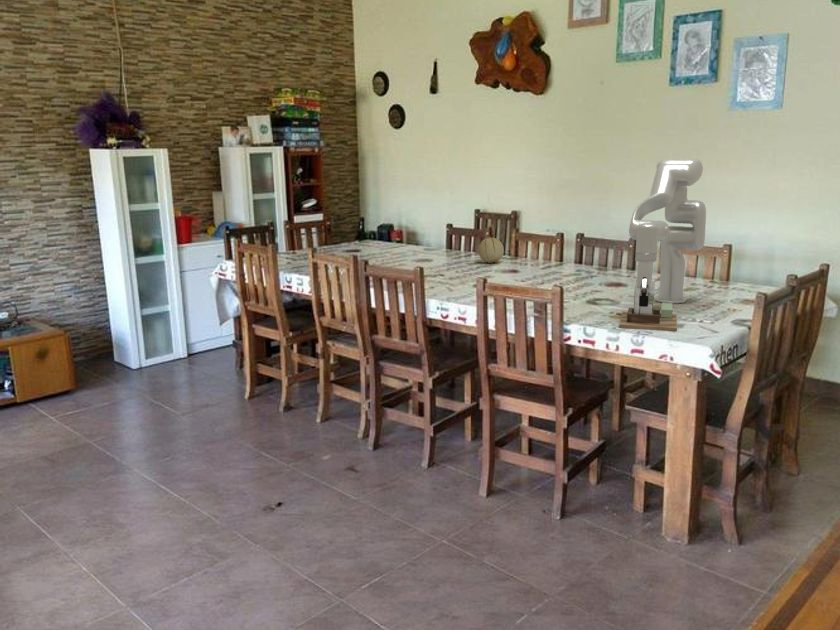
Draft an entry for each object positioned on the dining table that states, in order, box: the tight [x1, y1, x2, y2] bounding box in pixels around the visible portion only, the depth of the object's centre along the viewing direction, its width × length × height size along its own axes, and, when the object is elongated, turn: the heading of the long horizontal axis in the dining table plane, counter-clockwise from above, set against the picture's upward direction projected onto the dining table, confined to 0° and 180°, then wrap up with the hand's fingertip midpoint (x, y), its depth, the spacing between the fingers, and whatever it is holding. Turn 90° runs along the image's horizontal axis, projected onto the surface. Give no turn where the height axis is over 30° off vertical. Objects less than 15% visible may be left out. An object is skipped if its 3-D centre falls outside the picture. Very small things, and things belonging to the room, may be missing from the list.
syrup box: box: [633, 277, 656, 315], centre depth 272 cm, size 6×6×14 cm
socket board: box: [618, 307, 678, 332], centre depth 274 cm, size 22×20×4 cm
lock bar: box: [660, 302, 674, 318], centre depth 280 cm, size 13×4×3 cm, turn 162°
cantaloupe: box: [477, 236, 505, 264], centre depth 414 cm, size 15×15×15 cm
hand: (643, 303), depth 273 cm, fingers closed on syrup box, 7 cm apart
